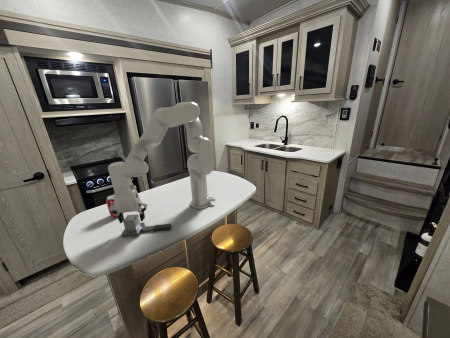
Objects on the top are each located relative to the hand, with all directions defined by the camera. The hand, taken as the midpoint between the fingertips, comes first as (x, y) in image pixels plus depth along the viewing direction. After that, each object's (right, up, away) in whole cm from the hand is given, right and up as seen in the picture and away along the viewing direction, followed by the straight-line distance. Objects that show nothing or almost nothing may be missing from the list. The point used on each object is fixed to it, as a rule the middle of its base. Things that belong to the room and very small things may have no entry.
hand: (132, 220), depth 86 cm
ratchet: (+7, -5, +2) cm, 9 cm away
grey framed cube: (0, -4, +1) cm, 4 cm away
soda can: (-17, -2, +16) cm, 23 cm away
